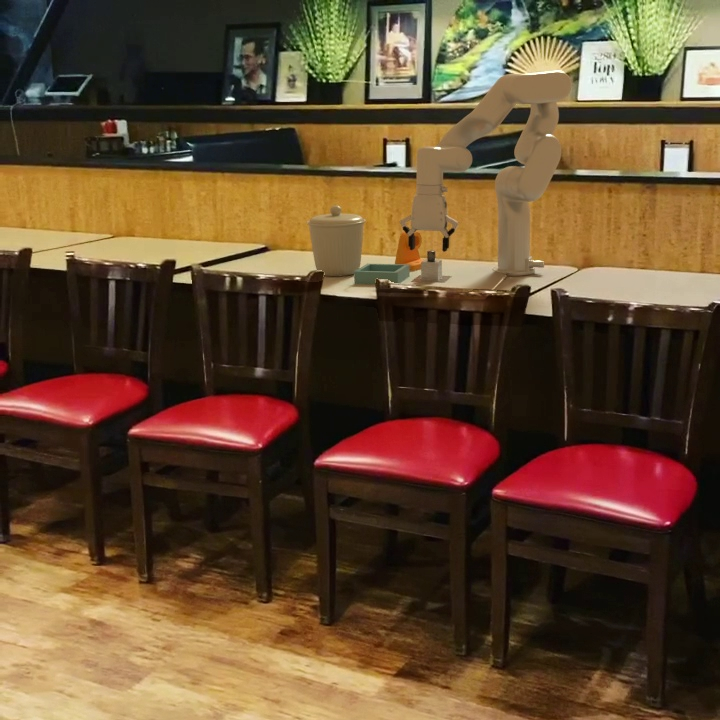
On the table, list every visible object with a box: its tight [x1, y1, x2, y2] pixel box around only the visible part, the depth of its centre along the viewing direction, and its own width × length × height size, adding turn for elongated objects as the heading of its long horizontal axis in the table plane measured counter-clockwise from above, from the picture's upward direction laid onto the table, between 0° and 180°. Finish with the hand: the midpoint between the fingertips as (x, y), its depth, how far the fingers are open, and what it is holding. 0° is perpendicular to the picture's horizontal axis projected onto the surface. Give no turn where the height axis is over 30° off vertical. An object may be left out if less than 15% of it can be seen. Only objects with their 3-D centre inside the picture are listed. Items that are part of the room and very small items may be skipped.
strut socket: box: [420, 250, 443, 281], centre depth 306 cm, size 5×5×8 cm
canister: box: [306, 205, 367, 277], centre depth 322 cm, size 18×18×21 cm
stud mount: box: [410, 274, 453, 284], centre depth 307 cm, size 10×10×5 cm
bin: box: [353, 263, 411, 285], centre depth 308 cm, size 13×13×4 cm
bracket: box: [394, 230, 426, 272], centre depth 325 cm, size 11×7×12 cm, turn 142°
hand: (428, 250), depth 305 cm, fingers open, 9 cm apart
